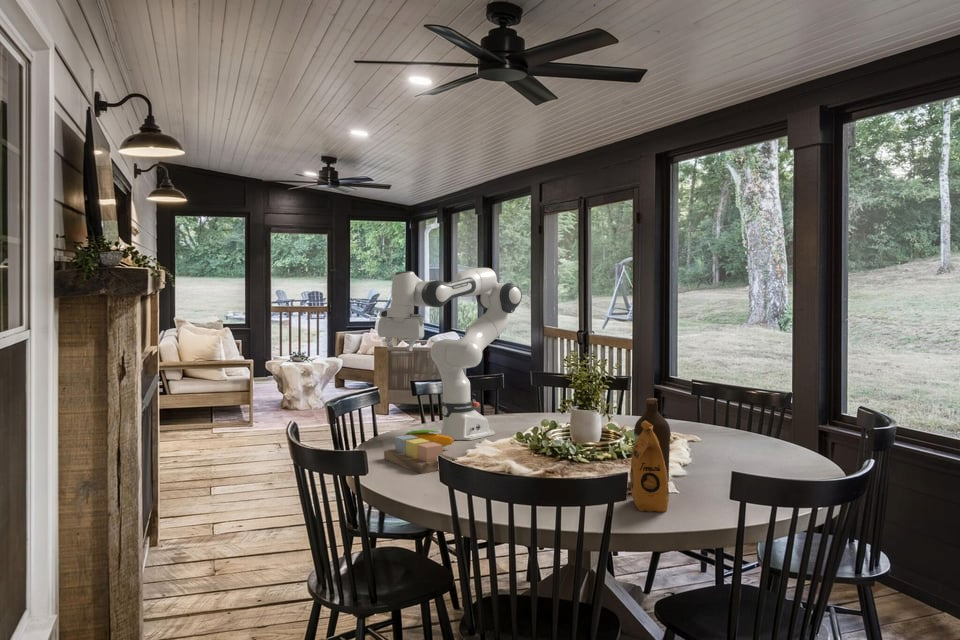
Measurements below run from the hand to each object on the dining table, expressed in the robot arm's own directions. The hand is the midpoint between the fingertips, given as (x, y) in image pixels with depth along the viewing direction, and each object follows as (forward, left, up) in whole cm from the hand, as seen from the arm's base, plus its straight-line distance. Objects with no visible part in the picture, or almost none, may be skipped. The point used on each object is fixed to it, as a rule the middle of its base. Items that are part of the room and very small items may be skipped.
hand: (399, 350), depth 268 cm
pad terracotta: (+8, +34, -34) cm, 49 cm away
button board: (+8, +26, -37) cm, 46 cm away
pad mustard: (+8, +26, -34) cm, 43 cm away
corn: (-6, +10, -37) cm, 39 cm away
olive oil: (-36, +91, -37) cm, 105 cm away
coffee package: (-17, +107, -37) cm, 114 cm away
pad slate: (+8, +18, -34) cm, 39 cm away
